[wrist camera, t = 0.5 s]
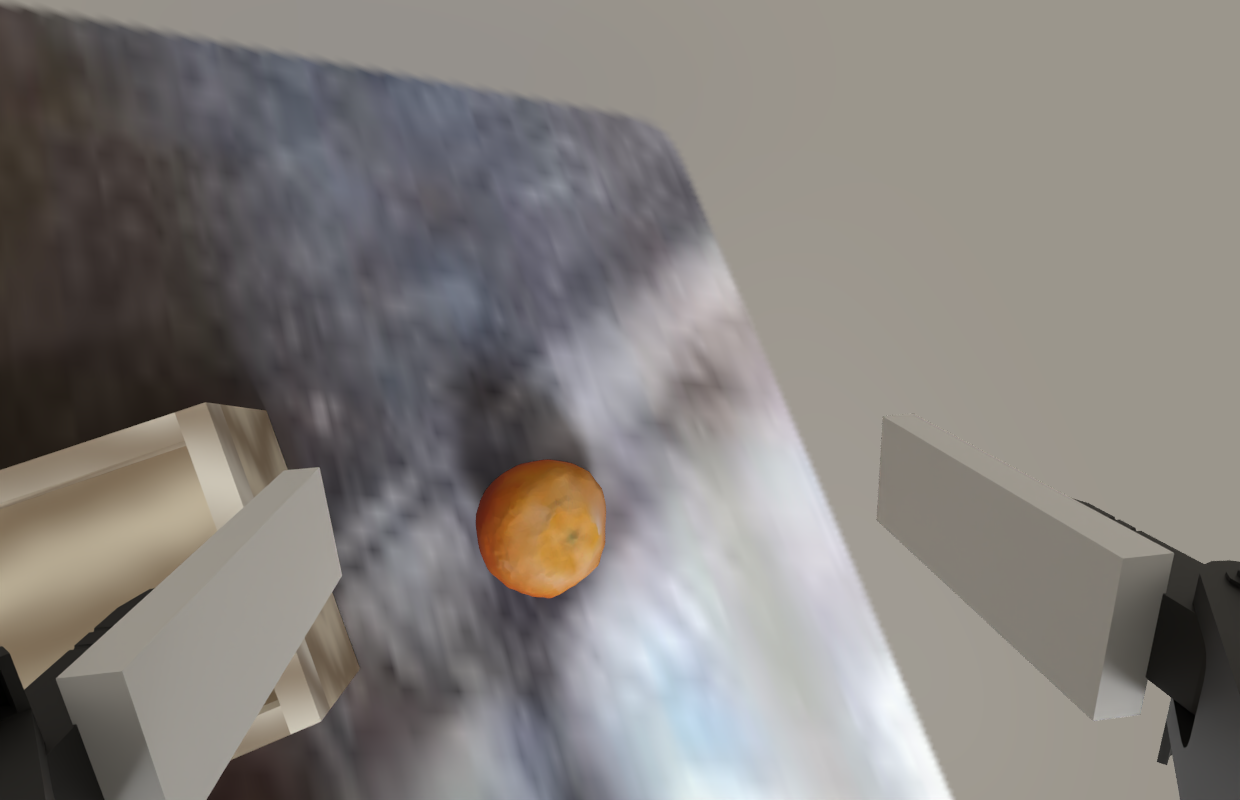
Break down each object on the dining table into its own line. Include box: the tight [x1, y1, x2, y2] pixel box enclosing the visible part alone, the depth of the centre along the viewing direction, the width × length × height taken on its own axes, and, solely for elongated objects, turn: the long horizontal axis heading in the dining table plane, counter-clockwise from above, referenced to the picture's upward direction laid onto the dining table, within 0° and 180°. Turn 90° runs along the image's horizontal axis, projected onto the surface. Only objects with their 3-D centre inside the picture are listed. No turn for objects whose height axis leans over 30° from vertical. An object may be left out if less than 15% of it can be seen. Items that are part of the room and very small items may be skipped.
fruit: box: [476, 459, 606, 598], centre depth 38 cm, size 8×8×8 cm
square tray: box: [0, 402, 360, 760], centre depth 34 cm, size 17×17×8 cm
